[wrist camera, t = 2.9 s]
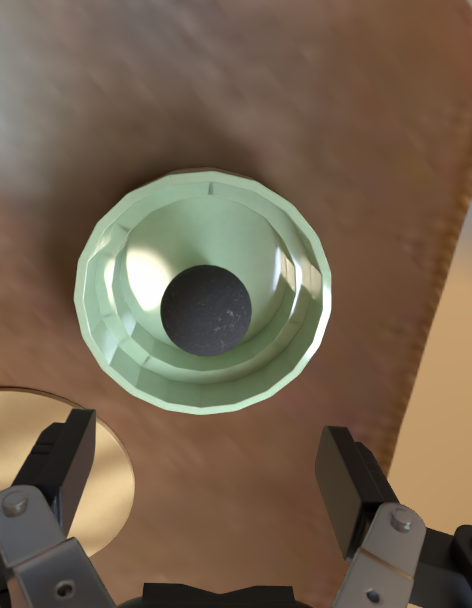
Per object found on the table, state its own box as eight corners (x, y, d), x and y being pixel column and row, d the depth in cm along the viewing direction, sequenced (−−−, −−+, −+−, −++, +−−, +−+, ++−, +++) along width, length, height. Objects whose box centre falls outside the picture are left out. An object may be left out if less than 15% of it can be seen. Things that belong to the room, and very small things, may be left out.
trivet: (-151, 442, 36) (-157, 447, 35) (62, 351, 34) (60, 354, 34) (-11, 591, 43) (-14, 597, 42) (171, 520, 41) (171, 525, 41)
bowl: (57, 222, 31) (22, 240, 25) (263, 129, 30) (279, 124, 24) (157, 397, 37) (149, 446, 30) (334, 323, 35) (362, 360, 29)
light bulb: (211, 226, 32) (216, 259, 22) (255, 284, 33) (276, 336, 24) (153, 271, 32) (134, 320, 23) (198, 324, 34) (198, 391, 25)
